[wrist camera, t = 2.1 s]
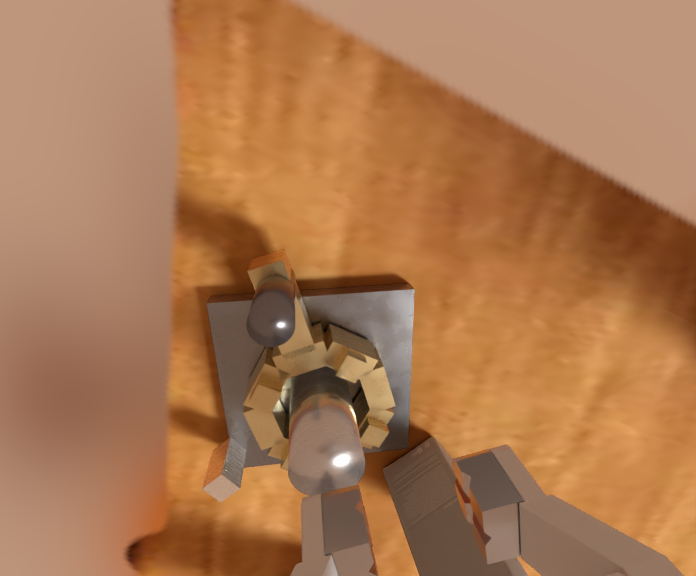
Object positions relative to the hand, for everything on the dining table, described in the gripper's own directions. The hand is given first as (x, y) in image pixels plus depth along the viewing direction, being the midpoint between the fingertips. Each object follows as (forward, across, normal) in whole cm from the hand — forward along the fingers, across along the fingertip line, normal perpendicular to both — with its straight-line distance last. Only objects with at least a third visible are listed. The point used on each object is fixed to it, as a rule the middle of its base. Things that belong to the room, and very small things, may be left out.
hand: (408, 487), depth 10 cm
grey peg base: (+21, +3, +10) cm, 23 cm away
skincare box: (+21, -5, +24) cm, 33 cm away
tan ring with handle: (+19, +4, +6) cm, 21 cm away
